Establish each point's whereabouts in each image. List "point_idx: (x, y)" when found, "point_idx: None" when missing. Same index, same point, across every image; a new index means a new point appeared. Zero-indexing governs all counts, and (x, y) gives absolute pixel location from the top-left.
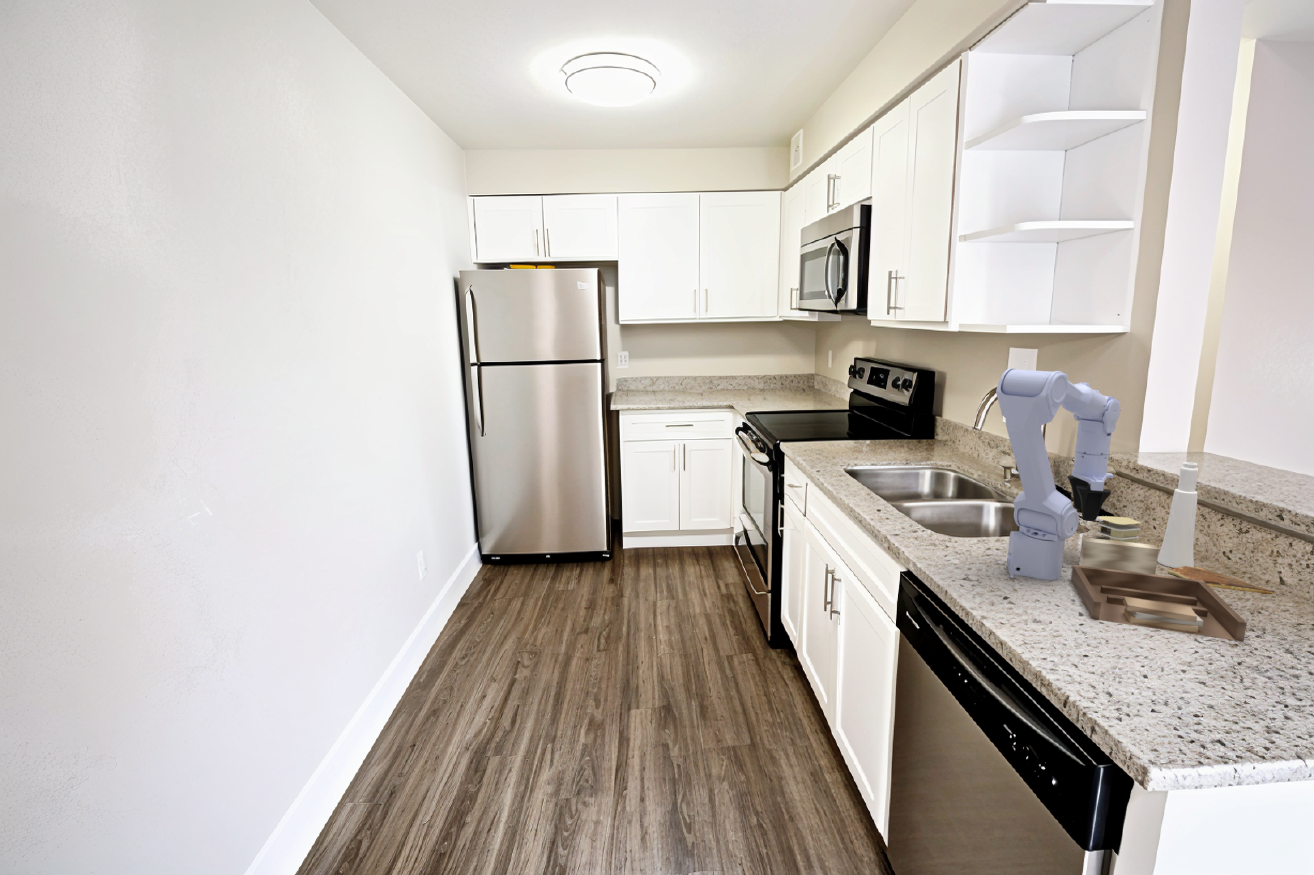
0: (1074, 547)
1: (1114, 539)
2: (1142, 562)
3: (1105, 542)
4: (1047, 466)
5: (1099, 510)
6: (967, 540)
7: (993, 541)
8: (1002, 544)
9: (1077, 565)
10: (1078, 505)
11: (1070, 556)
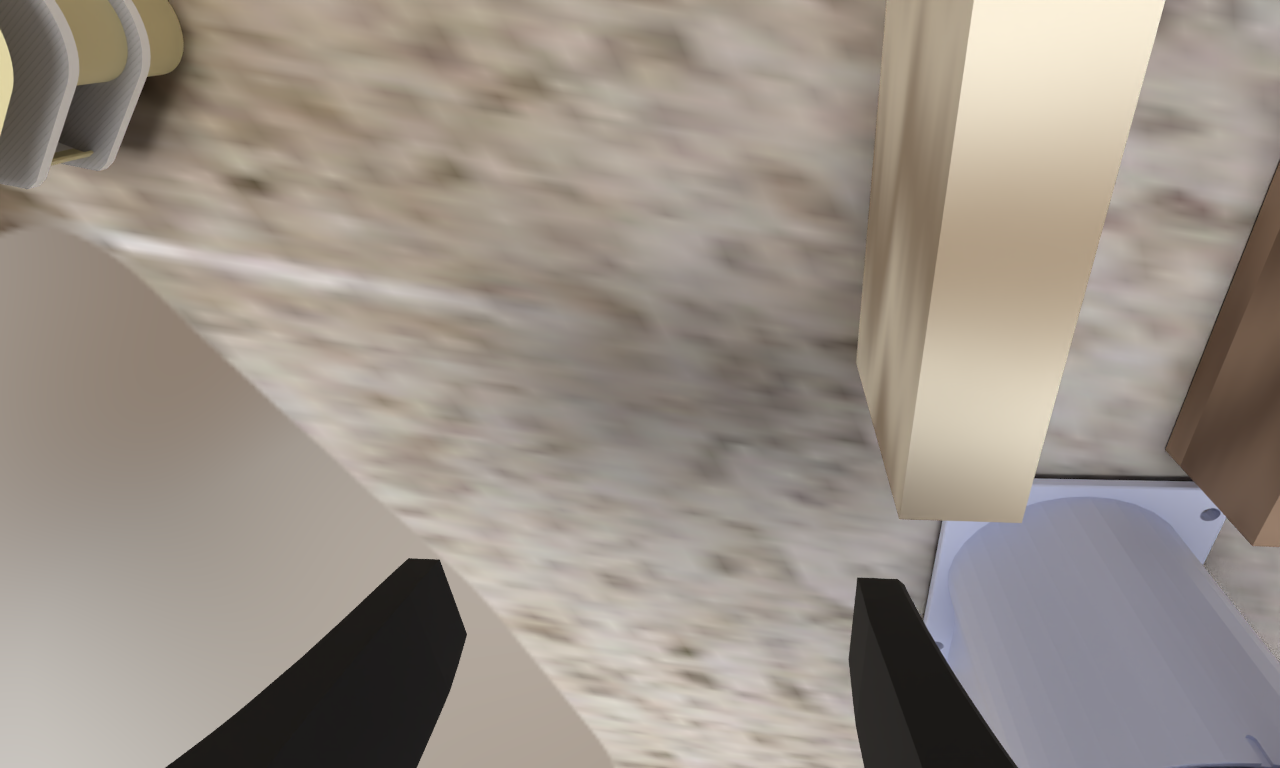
0: (435, 322)
1: (145, 51)
2: None
3: (1023, 376)
4: None
5: (979, 718)
6: (618, 722)
7: (574, 647)
8: (599, 624)
9: (1272, 523)
10: (444, 660)
11: (632, 370)
